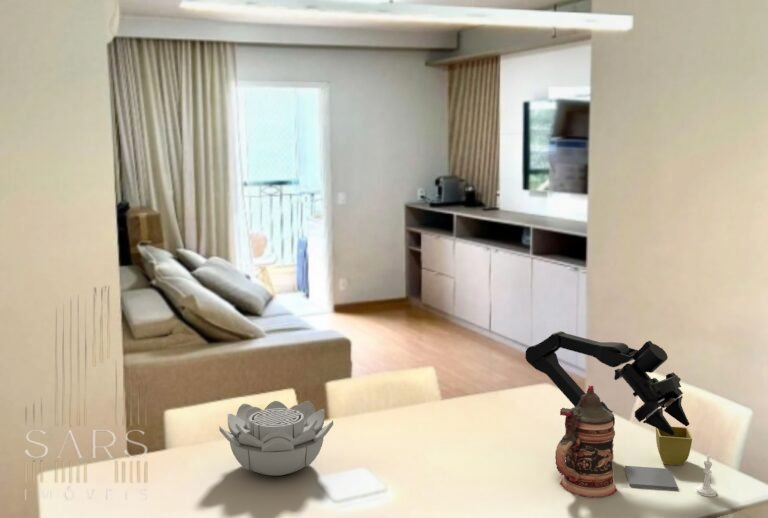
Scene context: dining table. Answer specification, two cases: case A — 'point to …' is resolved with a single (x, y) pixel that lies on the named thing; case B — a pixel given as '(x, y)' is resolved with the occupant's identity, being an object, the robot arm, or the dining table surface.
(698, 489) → the chess piece
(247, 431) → the decorative bowl
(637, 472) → the slate tile
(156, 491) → the dining table surface
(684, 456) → the flower pot
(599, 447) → the beer stein
